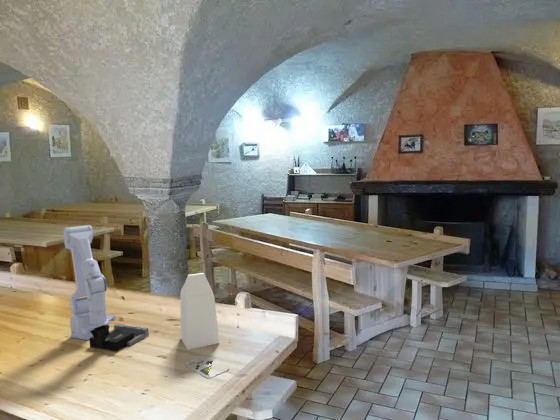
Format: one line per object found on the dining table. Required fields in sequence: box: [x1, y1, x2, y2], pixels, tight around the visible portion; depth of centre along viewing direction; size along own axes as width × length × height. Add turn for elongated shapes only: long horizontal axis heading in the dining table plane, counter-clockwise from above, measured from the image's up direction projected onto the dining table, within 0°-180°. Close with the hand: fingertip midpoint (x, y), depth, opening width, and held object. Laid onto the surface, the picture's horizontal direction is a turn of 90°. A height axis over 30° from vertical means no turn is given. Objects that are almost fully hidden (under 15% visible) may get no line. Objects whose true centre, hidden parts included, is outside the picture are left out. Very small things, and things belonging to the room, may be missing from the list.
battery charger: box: [89, 330, 135, 353], centre depth 176 cm, size 13×10×4 cm
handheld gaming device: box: [184, 355, 214, 379], centre depth 155 cm, size 9×1×15 cm
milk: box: [179, 272, 220, 351], centre depth 176 cm, size 12×12×26 cm
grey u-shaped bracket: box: [109, 323, 150, 347], centre depth 182 cm, size 15×11×3 cm
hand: (100, 345), depth 171 cm, fingers closed
